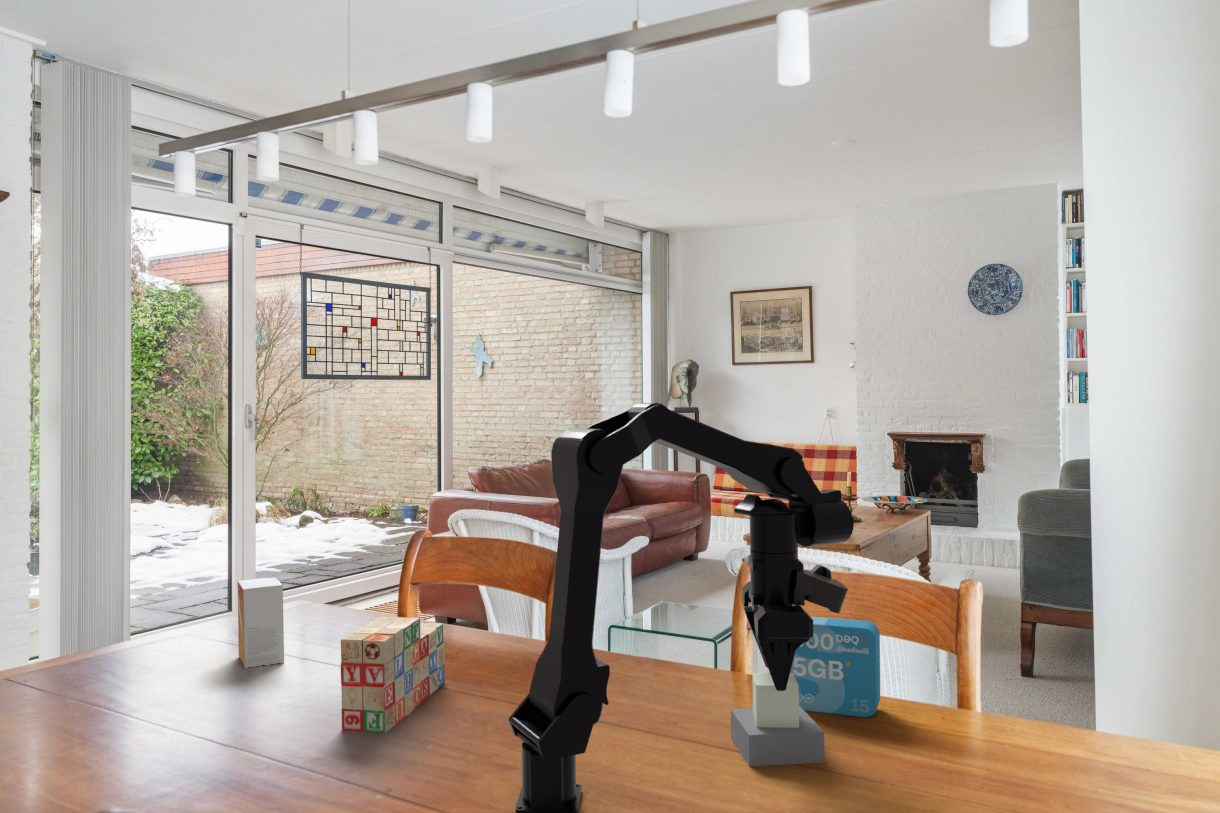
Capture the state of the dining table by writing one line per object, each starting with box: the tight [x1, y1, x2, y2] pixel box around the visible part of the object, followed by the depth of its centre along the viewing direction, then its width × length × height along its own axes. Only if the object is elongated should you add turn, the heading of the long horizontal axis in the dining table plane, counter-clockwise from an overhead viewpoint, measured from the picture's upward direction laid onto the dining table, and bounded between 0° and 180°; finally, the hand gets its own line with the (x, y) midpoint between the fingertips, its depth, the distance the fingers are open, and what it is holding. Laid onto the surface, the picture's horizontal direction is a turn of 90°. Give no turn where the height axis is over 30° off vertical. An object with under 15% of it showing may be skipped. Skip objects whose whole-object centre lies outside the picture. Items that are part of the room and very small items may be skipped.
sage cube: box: [752, 672, 799, 728], centre depth 112 cm, size 5×5×5 cm
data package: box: [790, 616, 881, 718], centre depth 127 cm, size 12×4×12 cm, turn 68°
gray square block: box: [730, 706, 825, 767], centre depth 112 cm, size 9×9×4 cm
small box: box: [237, 576, 285, 669], centre depth 154 cm, size 8×6×13 cm
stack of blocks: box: [340, 616, 446, 734], centre depth 130 cm, size 21×6×12 cm, turn 169°
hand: (775, 678), depth 112 cm, fingers open, 9 cm apart
